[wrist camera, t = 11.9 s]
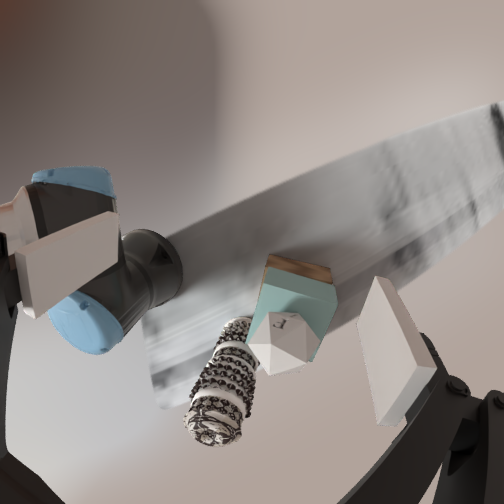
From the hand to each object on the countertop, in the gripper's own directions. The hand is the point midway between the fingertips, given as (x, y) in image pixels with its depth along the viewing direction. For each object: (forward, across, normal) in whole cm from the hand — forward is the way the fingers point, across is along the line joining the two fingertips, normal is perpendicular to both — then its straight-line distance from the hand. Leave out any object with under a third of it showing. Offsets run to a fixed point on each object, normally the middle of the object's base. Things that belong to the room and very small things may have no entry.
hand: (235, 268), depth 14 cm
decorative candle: (+35, -1, -29) cm, 45 cm away
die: (+23, +5, -17) cm, 29 cm away
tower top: (+29, +6, -17) cm, 34 cm away
